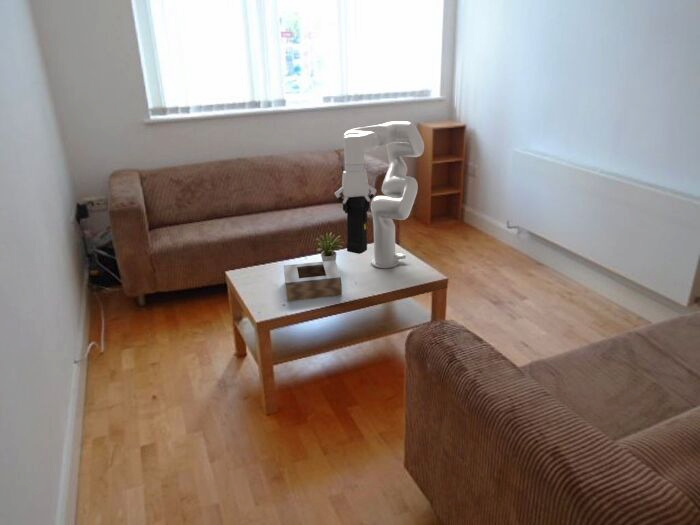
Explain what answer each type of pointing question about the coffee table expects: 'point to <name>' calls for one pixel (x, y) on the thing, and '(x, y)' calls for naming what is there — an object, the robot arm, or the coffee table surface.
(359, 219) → the portable radio
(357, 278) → the coffee table surface
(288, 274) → the box
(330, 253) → the house plant
